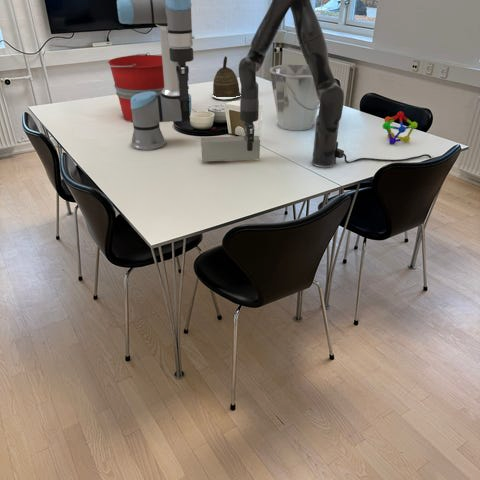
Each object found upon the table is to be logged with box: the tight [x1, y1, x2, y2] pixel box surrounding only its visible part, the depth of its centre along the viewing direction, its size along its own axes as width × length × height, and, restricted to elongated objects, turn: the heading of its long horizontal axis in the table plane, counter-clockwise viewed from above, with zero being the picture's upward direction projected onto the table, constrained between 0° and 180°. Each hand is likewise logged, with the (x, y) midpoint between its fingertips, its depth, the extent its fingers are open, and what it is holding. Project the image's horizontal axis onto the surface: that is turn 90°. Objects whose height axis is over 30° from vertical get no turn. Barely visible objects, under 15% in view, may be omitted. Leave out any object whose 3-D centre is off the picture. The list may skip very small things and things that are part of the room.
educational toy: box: [382, 110, 418, 145], centre depth 207 cm, size 16×13×15 cm
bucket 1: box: [105, 52, 164, 123], centre depth 239 cm, size 35×35×30 cm
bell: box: [212, 56, 241, 97], centre depth 278 cm, size 19×26×20 cm
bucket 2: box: [269, 63, 320, 131], centre depth 226 cm, size 30×30×28 cm
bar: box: [200, 135, 261, 162], centre depth 188 cm, size 24×6×9 cm, turn 96°
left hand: (185, 114), depth 151 cm, fingers open, 13 cm apart
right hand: (248, 147), depth 188 cm, fingers closed on bar, 5 cm apart
